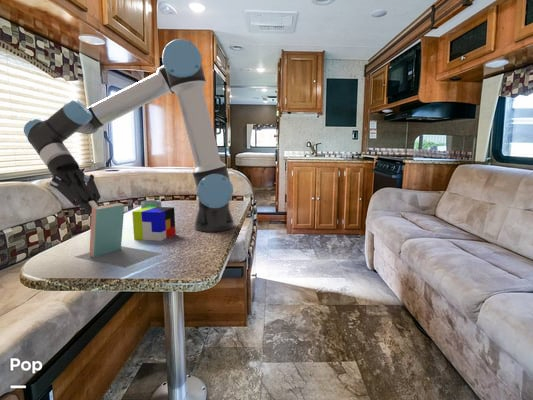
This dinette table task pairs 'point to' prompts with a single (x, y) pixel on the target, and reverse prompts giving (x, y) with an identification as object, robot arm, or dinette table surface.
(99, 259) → the mat
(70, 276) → the dinette table surface
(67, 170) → the robot arm
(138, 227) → the puzzle toy
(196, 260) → the dinette table surface
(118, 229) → the tile
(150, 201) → the cup
